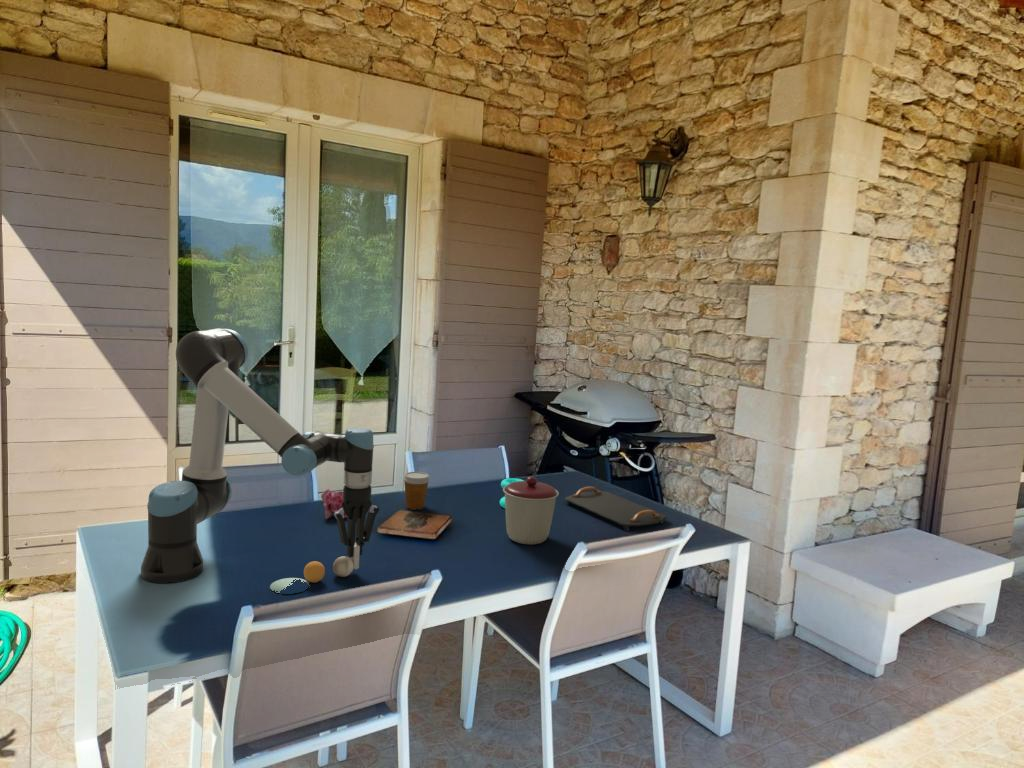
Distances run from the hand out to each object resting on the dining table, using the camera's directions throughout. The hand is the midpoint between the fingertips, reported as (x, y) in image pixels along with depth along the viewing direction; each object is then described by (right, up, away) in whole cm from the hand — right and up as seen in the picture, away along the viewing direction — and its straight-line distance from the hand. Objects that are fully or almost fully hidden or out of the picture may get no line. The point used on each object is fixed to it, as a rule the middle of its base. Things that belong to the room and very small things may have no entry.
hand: (354, 567), depth 198 cm
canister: (+49, 0, +36) cm, 60 cm away
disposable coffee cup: (+9, +6, +60) cm, 61 cm away
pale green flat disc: (-14, -2, -11) cm, 18 cm away
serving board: (+82, +2, +70) cm, 108 cm away
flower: (-16, +6, +45) cm, 48 cm away
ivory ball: (-2, +1, -3) cm, 4 cm away
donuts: (+44, +5, +68) cm, 81 cm away
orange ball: (-9, +1, -7) cm, 12 cm away
